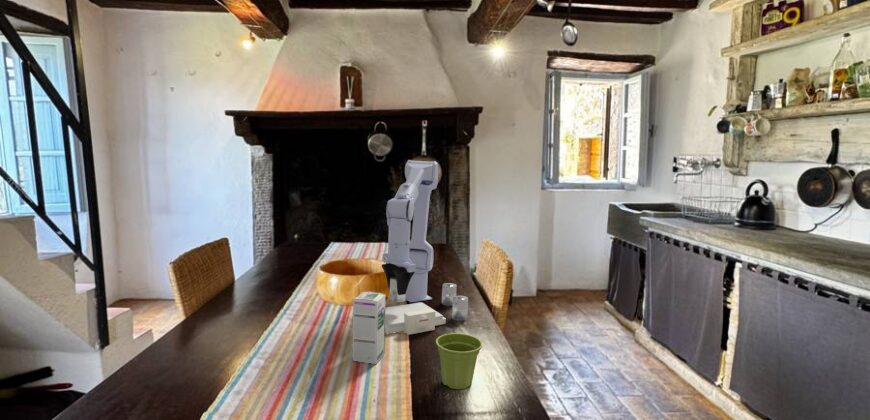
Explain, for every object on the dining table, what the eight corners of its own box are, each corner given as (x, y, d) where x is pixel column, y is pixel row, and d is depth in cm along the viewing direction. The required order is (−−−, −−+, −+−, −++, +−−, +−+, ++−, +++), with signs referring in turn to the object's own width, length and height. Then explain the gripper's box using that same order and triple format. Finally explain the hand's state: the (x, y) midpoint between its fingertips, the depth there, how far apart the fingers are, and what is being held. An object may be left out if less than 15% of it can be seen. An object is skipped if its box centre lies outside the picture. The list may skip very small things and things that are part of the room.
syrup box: (376, 365, 97) (378, 300, 95) (351, 361, 98) (352, 297, 97) (384, 354, 103) (386, 293, 101) (360, 350, 104) (362, 290, 102)
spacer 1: (401, 296, 125) (402, 275, 124) (408, 301, 121) (408, 279, 121) (386, 298, 123) (387, 276, 122) (392, 303, 119) (393, 281, 118)
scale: (368, 318, 124) (368, 301, 123) (424, 309, 133) (424, 293, 133) (391, 338, 111) (391, 319, 111) (451, 327, 121) (452, 309, 120)
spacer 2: (439, 302, 141) (439, 283, 140) (450, 300, 143) (451, 282, 142) (446, 306, 137) (447, 287, 136) (458, 304, 139) (459, 286, 139)
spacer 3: (448, 316, 128) (450, 296, 128) (461, 314, 131) (462, 294, 130) (457, 322, 125) (458, 301, 124) (470, 319, 127) (471, 299, 126)
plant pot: (432, 371, 96) (434, 332, 95) (475, 371, 97) (477, 332, 95) (436, 394, 86) (438, 351, 85) (483, 394, 87) (486, 352, 86)
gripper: (373, 239, 124) (371, 286, 125) (399, 249, 112) (397, 301, 114) (395, 237, 128) (393, 283, 129) (423, 247, 116) (420, 297, 118)
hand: (397, 291), depth 122 cm, fingers closed on spacer 1, 4 cm apart
